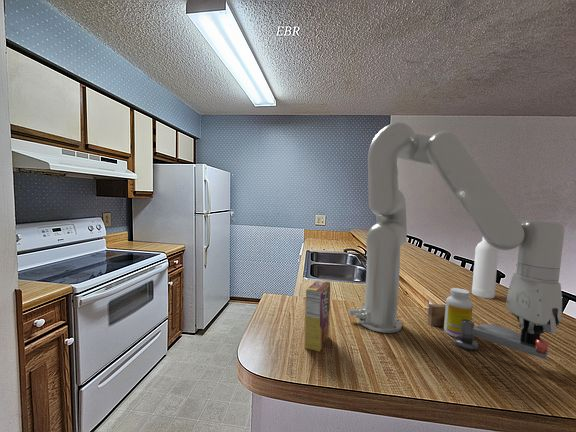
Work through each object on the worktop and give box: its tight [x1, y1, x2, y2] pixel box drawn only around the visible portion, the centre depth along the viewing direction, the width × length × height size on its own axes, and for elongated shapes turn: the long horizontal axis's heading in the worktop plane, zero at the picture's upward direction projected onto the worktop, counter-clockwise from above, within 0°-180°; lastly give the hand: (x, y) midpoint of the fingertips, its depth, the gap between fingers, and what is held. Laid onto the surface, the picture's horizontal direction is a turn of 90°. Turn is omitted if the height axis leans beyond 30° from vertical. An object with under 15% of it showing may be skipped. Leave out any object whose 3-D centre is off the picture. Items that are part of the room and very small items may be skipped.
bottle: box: [471, 236, 499, 300], centre depth 116 cm, size 8×8×30 cm
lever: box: [454, 319, 550, 360], centre depth 69 cm, size 18×5×7 cm, turn 43°
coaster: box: [477, 323, 521, 341], centre depth 81 cm, size 11×11×1 cm
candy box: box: [304, 280, 331, 352], centre depth 72 cm, size 9×4×15 cm, turn 156°
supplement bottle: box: [443, 287, 473, 337], centre depth 80 cm, size 7×7×13 cm
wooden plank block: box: [427, 303, 446, 327], centre depth 86 cm, size 12×2×6 cm, turn 92°
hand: (529, 347), depth 66 cm, fingers closed
